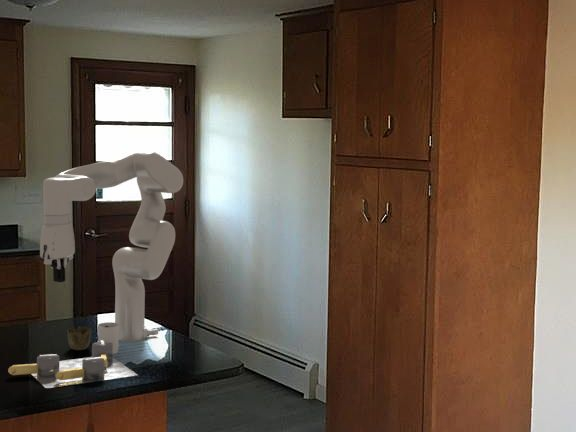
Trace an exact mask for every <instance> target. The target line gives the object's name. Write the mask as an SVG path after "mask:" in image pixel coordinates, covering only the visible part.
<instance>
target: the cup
mask: <svg viewBox="0 0 576 432" xmlns="http://www.w3.org/2000/svg"><path fill="white" fill-rule="evenodd" d="M66 332H67V342H68V346H69V347H70V349H71V350H74V351H77V352H79V351H85V350H86V349H87V348H88V347H89V345H90V344H91V338H92V337H91V336H92V328H91V327H90V326H89V327H87V326H85V325H83V326H80V325H79V326H78V328H75V327H74V326H72V327H68V329H66Z"/></svg>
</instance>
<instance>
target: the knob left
mask: <svg viewBox="0 0 576 432" xmlns="http://www.w3.org/2000/svg"><path fill="white" fill-rule="evenodd" d="M91 357H92V356H91ZM85 358H86V359H83V360H82V368H74V369H67V370H59V372H57V373H56V374H55V377H56V379H58V380H60V381H61V380H68V379H75V378H82V379H83V380H85V381H95V382H100V380H102V381H104V380H103V379H104V372H105V360H104V359H103V358H101V357H92V358H88V357H85Z"/></svg>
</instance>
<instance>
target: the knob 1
mask: <svg viewBox="0 0 576 432" xmlns="http://www.w3.org/2000/svg"><path fill="white" fill-rule="evenodd" d="M59 361H60V355H58V354H57V353H56V354H53V353H50V354H49V353H47V354H45V353H44V354H39V356H37V357H36V363H25V364H13V365H12V366H9V368H7V369H8V370H7V371H8V373H9V374H10V375H12V376H19V375H20V376H21V375H31V374H36V373H37V376H38V377H41V378H52V377H55V374H56V373H57V372H59Z"/></svg>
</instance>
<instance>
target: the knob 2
mask: <svg viewBox="0 0 576 432" xmlns="http://www.w3.org/2000/svg"><path fill="white" fill-rule="evenodd" d="M113 355H114V354H113V344H112V343H111V342H104V341H103V340H101V342H98V341H97V342H93V343H91V357H101V358H103V359H104V360H105V367H107V365H108V363H109V362H112V361H113V358H114V357H113Z"/></svg>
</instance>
